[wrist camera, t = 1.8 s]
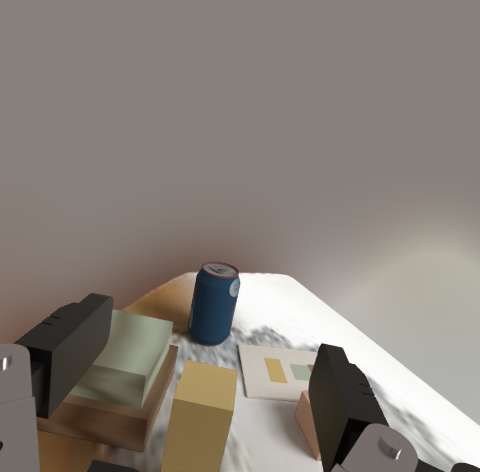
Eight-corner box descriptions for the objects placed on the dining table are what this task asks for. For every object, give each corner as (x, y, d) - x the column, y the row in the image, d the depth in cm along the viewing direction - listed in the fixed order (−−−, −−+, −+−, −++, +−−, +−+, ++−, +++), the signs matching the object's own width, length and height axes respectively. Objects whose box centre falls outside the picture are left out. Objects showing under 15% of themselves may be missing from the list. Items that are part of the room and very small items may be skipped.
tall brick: (213, 475, 31) (237, 370, 28) (205, 527, 27) (233, 411, 24) (167, 465, 31) (186, 359, 28) (152, 516, 27) (173, 398, 24)
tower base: (174, 372, 43) (182, 319, 41) (142, 452, 32) (152, 385, 30) (87, 353, 44) (91, 300, 41) (24, 426, 32) (26, 358, 30)
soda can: (236, 341, 53) (251, 274, 50) (204, 354, 48) (218, 281, 45) (210, 320, 58) (222, 258, 55) (177, 330, 53) (189, 262, 50)
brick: (335, 414, 42) (344, 389, 41) (363, 457, 37) (373, 429, 36) (294, 416, 40) (302, 390, 39) (316, 462, 35) (326, 433, 34)
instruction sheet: (330, 355, 55) (330, 353, 55) (360, 406, 44) (361, 404, 44) (237, 345, 52) (238, 343, 52) (246, 397, 42) (247, 395, 42)
